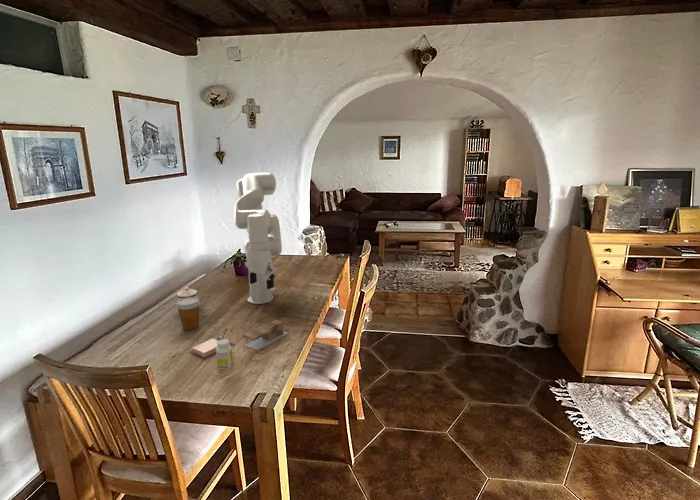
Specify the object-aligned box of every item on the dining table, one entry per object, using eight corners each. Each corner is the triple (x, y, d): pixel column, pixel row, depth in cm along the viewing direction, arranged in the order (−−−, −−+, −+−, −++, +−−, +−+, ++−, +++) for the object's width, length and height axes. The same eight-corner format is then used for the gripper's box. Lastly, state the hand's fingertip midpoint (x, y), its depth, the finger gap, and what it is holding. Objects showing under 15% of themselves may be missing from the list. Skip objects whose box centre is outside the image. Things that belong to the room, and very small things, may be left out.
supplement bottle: (223, 372, 142) (220, 347, 139) (214, 366, 145) (211, 342, 143) (236, 365, 146) (234, 341, 143) (227, 360, 149) (225, 336, 147)
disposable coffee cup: (207, 323, 179) (204, 298, 176) (192, 333, 170) (189, 306, 167) (189, 320, 182) (186, 295, 179) (174, 330, 174) (170, 303, 170)
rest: (276, 329, 173) (276, 328, 173) (288, 334, 169) (288, 332, 169) (244, 346, 159) (244, 344, 159) (257, 351, 155) (257, 350, 155)
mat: (219, 338, 166) (219, 337, 166) (235, 345, 160) (235, 344, 160) (188, 353, 155) (188, 352, 155) (205, 361, 149) (204, 360, 149)
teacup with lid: (192, 315, 187) (189, 291, 184) (174, 314, 189) (171, 290, 186) (206, 305, 199) (204, 282, 196) (189, 304, 200) (186, 281, 197)
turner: (274, 330, 171) (273, 319, 170) (285, 333, 168) (284, 322, 167) (243, 346, 158) (242, 334, 157) (254, 350, 155) (253, 338, 154)
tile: (212, 338, 161) (192, 347, 154) (224, 343, 157) (203, 353, 150) (213, 342, 162) (192, 352, 155) (224, 347, 158) (204, 357, 151)
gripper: (236, 243, 163) (240, 283, 168) (267, 251, 154) (270, 293, 159) (250, 239, 169) (253, 278, 174) (281, 246, 160) (284, 287, 165)
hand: (261, 285), depth 167 cm, fingers open, 9 cm apart
